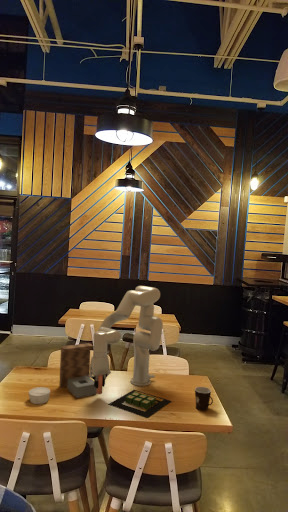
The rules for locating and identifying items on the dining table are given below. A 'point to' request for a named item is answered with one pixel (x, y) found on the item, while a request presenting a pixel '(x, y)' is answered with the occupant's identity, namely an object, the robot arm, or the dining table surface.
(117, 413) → the dining table surface
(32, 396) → the ramekin
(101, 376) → the peg
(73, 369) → the wood grain panel
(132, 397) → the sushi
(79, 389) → the socket block
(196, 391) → the coffee mug
